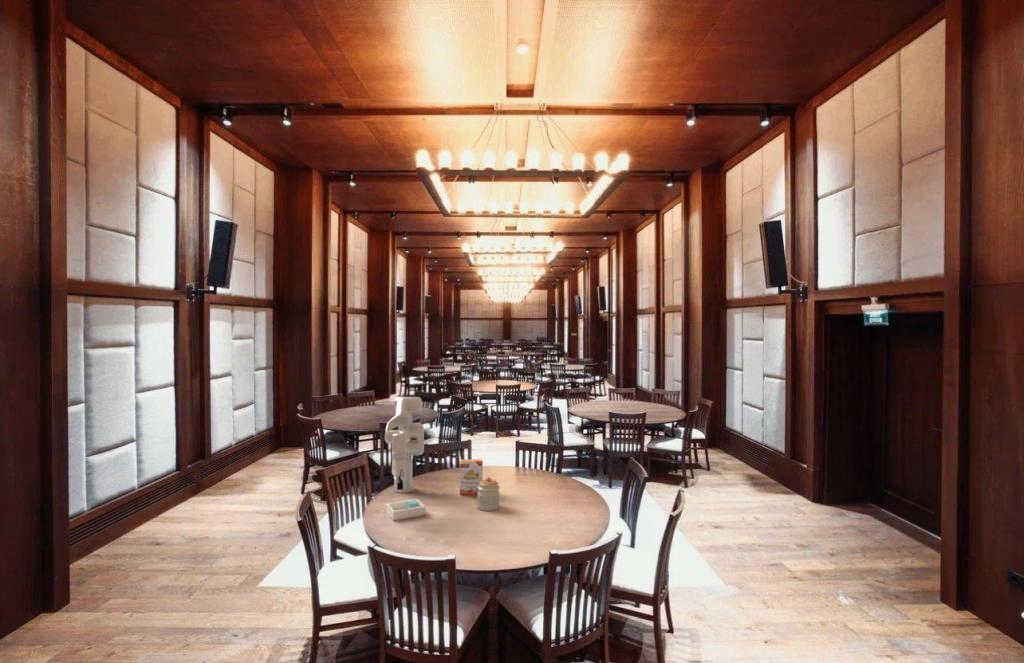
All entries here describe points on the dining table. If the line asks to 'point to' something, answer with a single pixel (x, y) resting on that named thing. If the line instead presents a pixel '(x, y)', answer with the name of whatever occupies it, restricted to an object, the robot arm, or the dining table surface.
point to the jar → (488, 495)
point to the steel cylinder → (396, 483)
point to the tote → (404, 510)
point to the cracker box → (470, 475)
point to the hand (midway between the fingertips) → (398, 487)
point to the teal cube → (412, 504)
